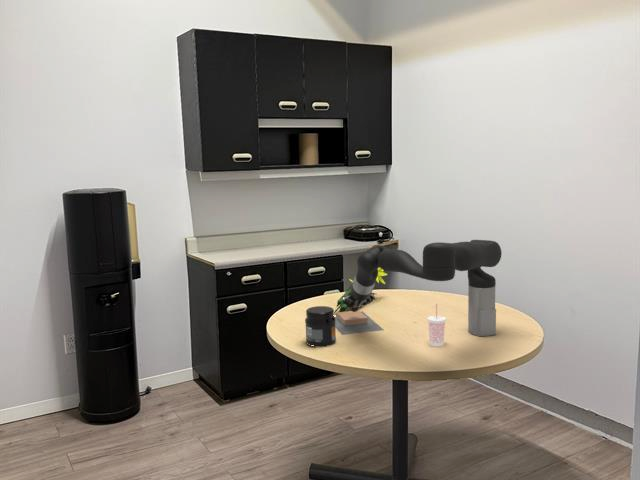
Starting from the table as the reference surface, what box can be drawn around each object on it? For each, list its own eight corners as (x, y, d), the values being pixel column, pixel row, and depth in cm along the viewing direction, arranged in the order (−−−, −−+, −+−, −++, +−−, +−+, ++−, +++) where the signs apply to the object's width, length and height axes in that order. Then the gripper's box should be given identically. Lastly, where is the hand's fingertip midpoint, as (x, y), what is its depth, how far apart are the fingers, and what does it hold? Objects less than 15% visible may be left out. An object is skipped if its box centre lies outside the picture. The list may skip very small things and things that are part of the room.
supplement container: (339, 339, 209) (338, 306, 207) (331, 349, 199) (330, 314, 197) (310, 337, 212) (309, 305, 210) (302, 347, 202) (300, 313, 200)
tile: (367, 317, 223) (358, 310, 234) (344, 320, 221) (336, 312, 232) (367, 324, 223) (358, 316, 234) (344, 326, 221) (337, 318, 232)
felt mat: (384, 331, 216) (384, 330, 216) (342, 335, 212) (342, 334, 212) (362, 312, 241) (362, 311, 241) (324, 316, 237) (324, 315, 237)
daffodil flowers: (318, 313, 244) (356, 275, 271) (348, 333, 240) (383, 293, 267) (331, 284, 234) (369, 248, 261) (362, 304, 230) (397, 265, 257)
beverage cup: (424, 342, 202) (423, 302, 200) (439, 339, 204) (439, 300, 202) (433, 348, 197) (433, 307, 194) (449, 345, 199) (449, 304, 196)
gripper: (347, 296, 207) (339, 320, 220) (383, 292, 210) (372, 316, 223) (342, 278, 211) (335, 302, 225) (378, 275, 214) (368, 299, 228)
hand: (354, 309), depth 224 cm, fingers closed
